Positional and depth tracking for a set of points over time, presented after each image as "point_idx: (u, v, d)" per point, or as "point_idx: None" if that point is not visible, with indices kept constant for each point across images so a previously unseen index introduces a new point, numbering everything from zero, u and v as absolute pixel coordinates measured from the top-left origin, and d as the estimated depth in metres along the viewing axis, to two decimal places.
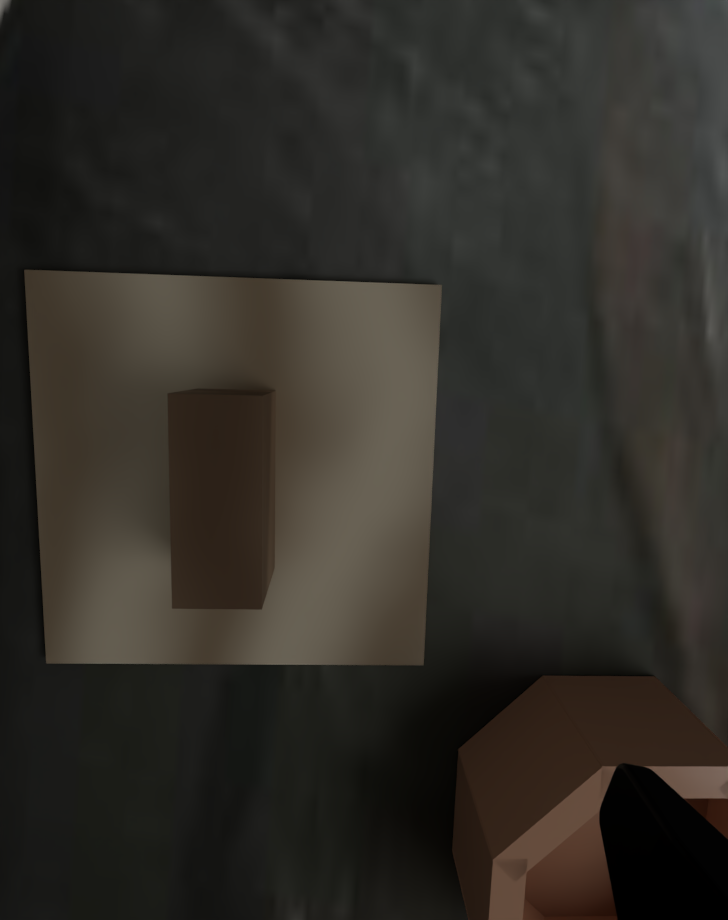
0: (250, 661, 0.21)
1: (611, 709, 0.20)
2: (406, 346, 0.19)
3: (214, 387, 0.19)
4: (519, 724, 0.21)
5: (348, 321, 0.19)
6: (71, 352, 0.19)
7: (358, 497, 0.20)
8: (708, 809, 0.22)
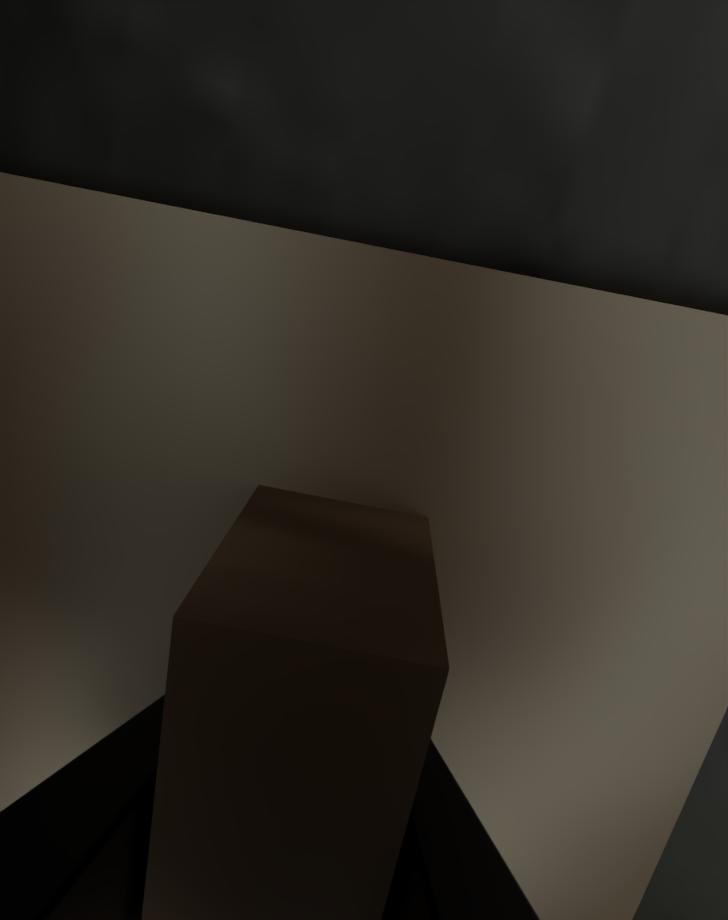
0: None
1: None
2: None
3: (295, 488, 0.09)
4: None
5: (632, 395, 0.08)
6: None
7: (549, 744, 0.10)
8: None
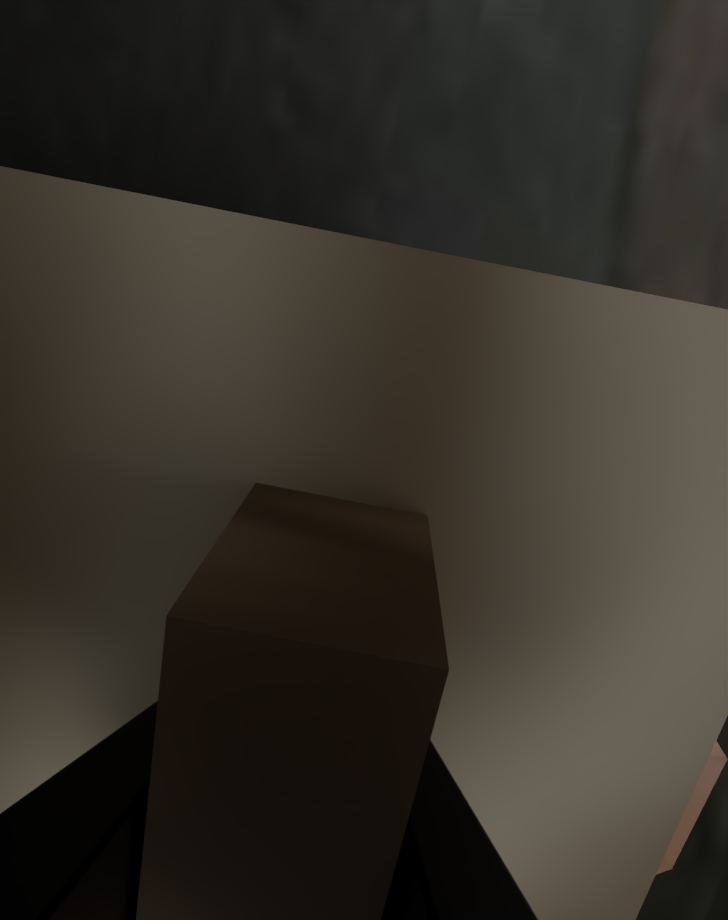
0: None
1: None
2: None
3: (293, 486, 0.09)
4: None
5: (635, 392, 0.08)
6: None
7: (550, 746, 0.10)
8: None
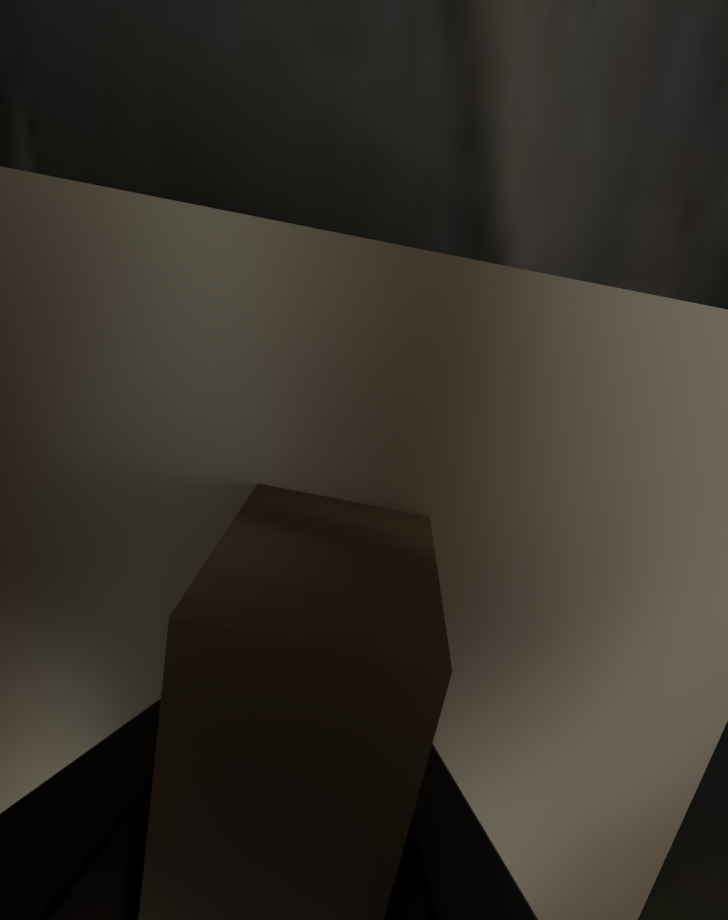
0: None
1: None
2: None
3: (294, 486, 0.09)
4: None
5: (638, 393, 0.08)
6: None
7: (552, 746, 0.10)
8: None
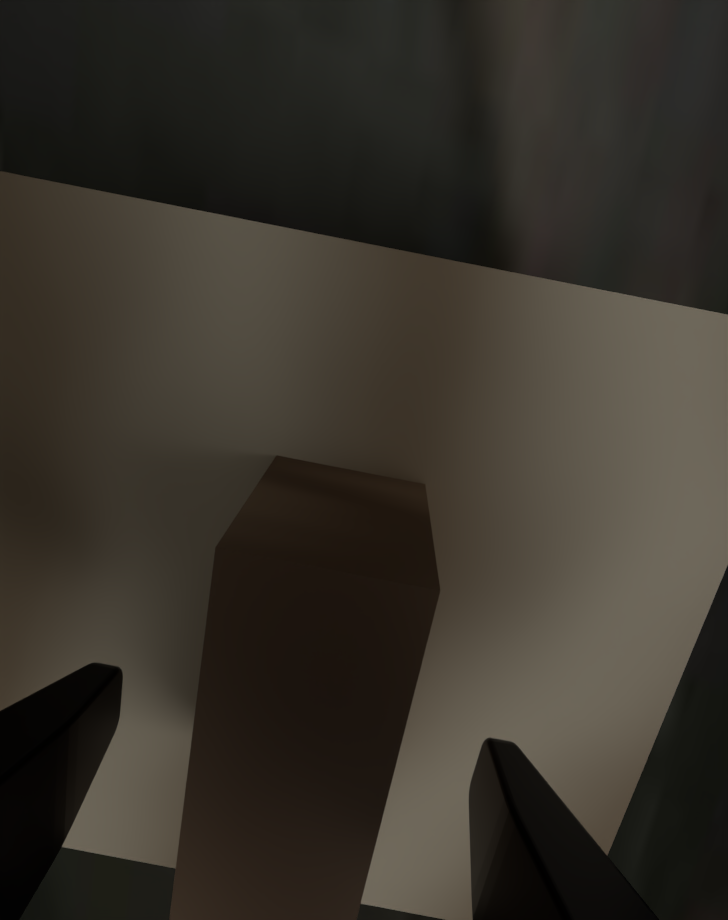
0: None
1: None
2: (705, 444, 0.09)
3: (308, 458, 0.10)
4: None
5: (602, 376, 0.09)
6: (42, 347, 0.10)
7: (533, 689, 0.11)
8: None
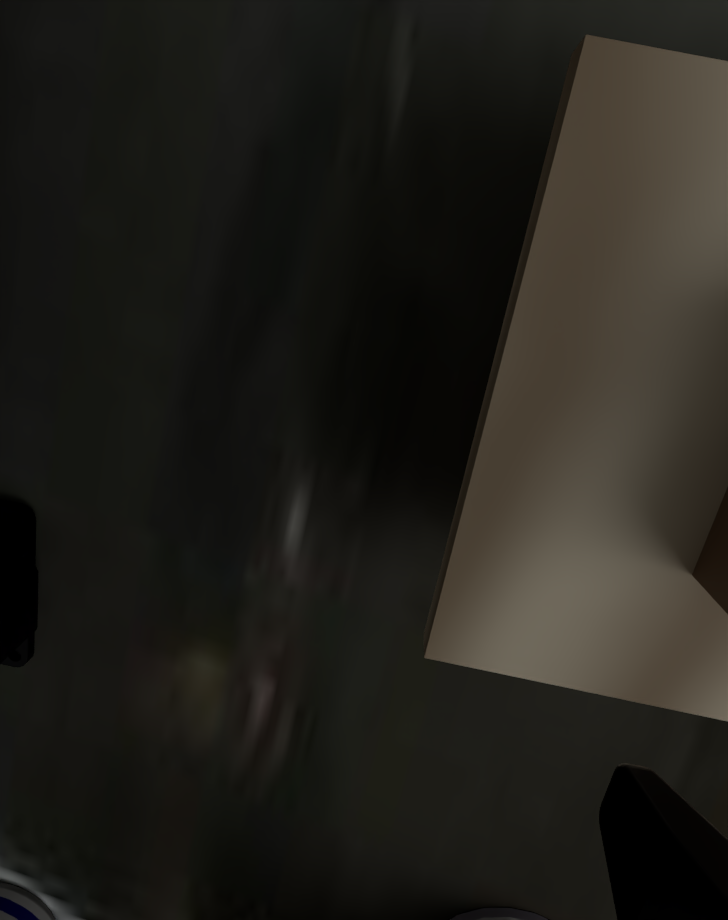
0: (710, 713, 0.14)
1: None
2: None
3: None
4: None
5: None
6: (615, 201, 0.11)
7: None
8: None
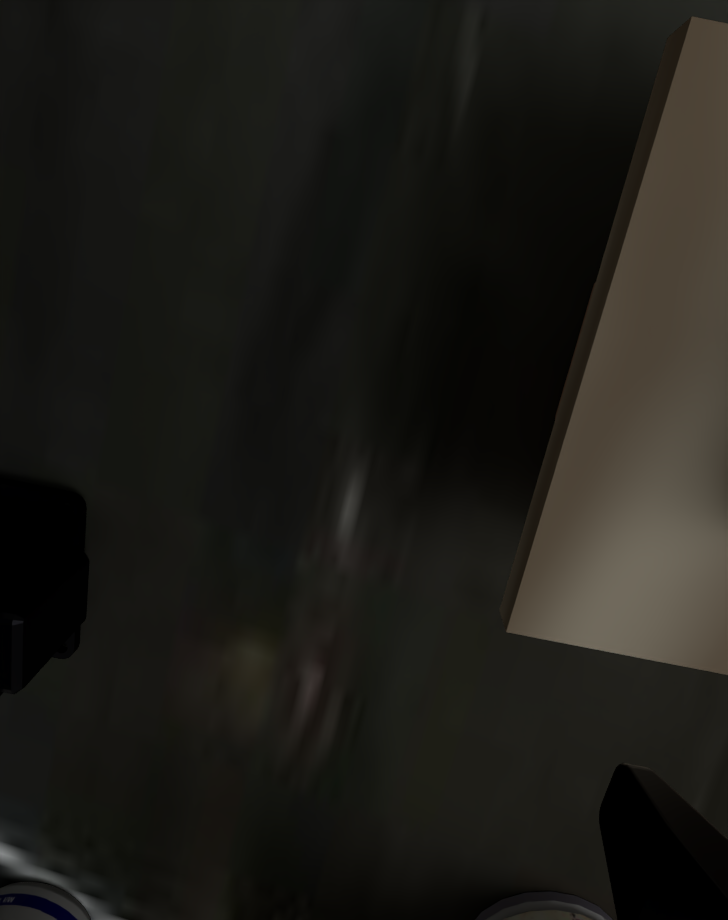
0: None
1: None
2: None
3: None
4: None
5: None
6: (713, 179, 0.11)
7: None
8: None
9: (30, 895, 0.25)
